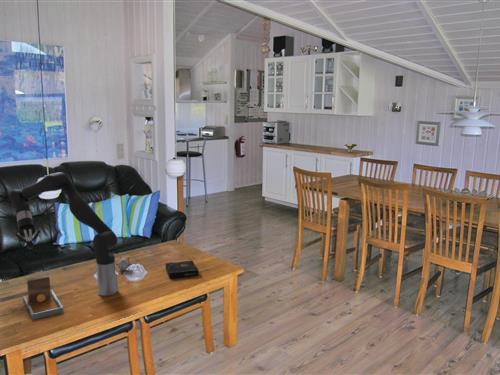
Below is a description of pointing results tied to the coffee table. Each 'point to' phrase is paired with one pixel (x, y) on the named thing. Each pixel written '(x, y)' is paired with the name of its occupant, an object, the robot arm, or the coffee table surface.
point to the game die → (124, 263)
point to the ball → (40, 298)
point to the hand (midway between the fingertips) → (30, 248)
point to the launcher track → (29, 305)
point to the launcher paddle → (38, 287)
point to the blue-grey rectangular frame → (46, 313)
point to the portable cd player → (181, 269)
